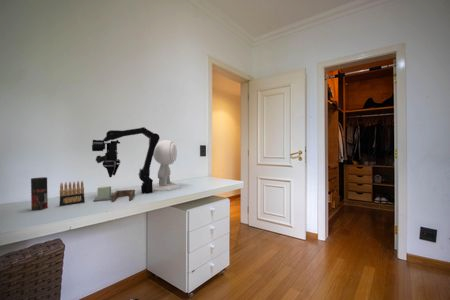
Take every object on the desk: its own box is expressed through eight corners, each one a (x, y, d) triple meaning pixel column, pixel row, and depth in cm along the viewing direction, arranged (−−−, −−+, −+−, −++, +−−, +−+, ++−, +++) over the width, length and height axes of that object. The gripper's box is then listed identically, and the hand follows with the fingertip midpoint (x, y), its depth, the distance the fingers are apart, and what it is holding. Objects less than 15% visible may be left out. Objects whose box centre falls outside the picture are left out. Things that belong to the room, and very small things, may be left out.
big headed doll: (176, 190, 144) (176, 139, 144) (143, 190, 145) (142, 139, 144) (183, 185, 164) (182, 140, 164) (153, 185, 165) (153, 140, 164)
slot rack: (134, 195, 131) (134, 189, 131) (131, 200, 118) (131, 194, 118) (116, 196, 128) (116, 190, 128) (111, 202, 115) (111, 195, 115)
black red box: (34, 207, 105) (33, 177, 105) (49, 206, 107) (49, 177, 107) (29, 211, 99) (28, 179, 99) (45, 209, 102) (44, 178, 102)
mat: (114, 196, 128) (114, 195, 128) (111, 200, 119) (111, 198, 119) (98, 197, 125) (98, 196, 125) (93, 201, 116) (93, 200, 116)
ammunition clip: (59, 206, 107) (59, 182, 107) (59, 205, 109) (59, 182, 108) (84, 202, 114) (84, 180, 114) (84, 202, 116) (83, 180, 116)
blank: (111, 196, 125) (111, 186, 125) (109, 198, 121) (109, 187, 121) (99, 197, 123) (99, 187, 123) (97, 198, 119) (97, 188, 119)
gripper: (101, 150, 137) (101, 175, 137) (92, 151, 119) (92, 179, 119) (120, 150, 140) (120, 174, 140) (114, 151, 122) (114, 178, 122)
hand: (112, 176), depth 130 cm, fingers open, 9 cm apart
